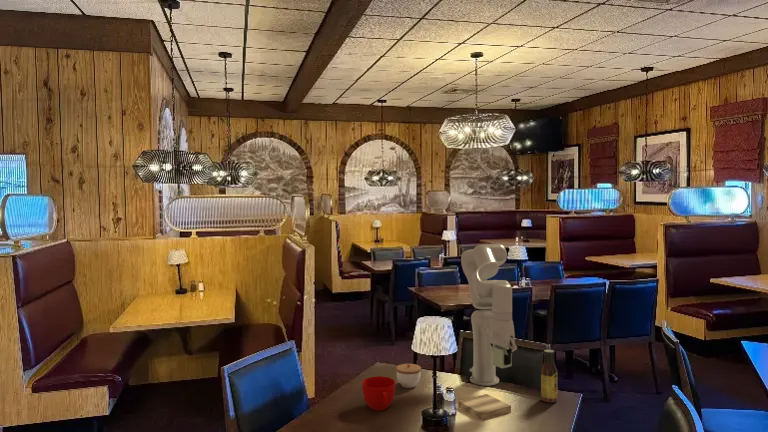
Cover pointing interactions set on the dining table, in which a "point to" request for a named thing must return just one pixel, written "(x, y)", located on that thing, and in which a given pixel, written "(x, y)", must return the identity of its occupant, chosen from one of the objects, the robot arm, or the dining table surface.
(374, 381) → the ceramic cup
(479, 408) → the riser block
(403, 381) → the lidded jar
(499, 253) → the robot arm
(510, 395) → the dining table surface
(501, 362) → the green block
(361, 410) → the dining table surface
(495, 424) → the dining table surface
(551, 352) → the sauce bottle
